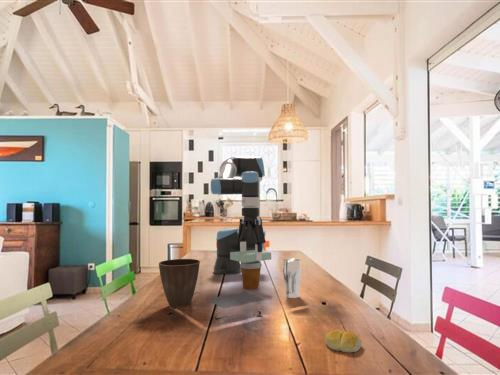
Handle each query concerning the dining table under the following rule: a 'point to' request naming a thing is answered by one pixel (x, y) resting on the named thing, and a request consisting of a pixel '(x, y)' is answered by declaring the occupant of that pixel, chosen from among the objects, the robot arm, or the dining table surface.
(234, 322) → the dining table surface
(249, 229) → the robot arm
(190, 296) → the plant pot
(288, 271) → the beer glass
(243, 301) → the rubber mat
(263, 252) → the board
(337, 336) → the bread roll
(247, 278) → the disposable coffee cup
